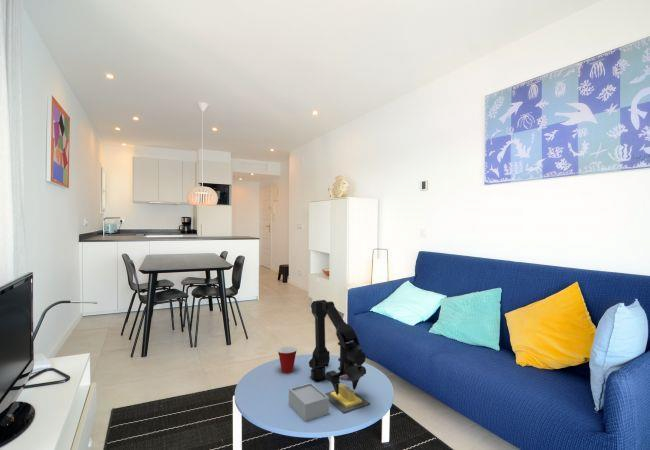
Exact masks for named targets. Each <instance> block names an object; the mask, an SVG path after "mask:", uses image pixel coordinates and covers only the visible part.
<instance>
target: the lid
mask: <svg viewBox="0 0 650 450" xmlns="http://www.w3.org/2000/svg"><path fill="white" fill-rule="evenodd" d="M352 390H353V389H351V388H350V387H348V386H347V385H345V384H344V383H341V384H340V383H339V393H338V395H337V394H336V392H332V391H330V392H331V393H330V395H331V396H332V397H334V398H335V399H336V400H337V401H339V402H340V403H341V404H342V405H343V406H345V407H346V408H347V407H350V406H353V405H356V404H359V403H362V400H361V399H360V398H358V397H357V396H356V395H355V393H356V392H355V390H353V391H352Z"/></svg>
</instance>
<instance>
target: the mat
mask: <svg viewBox="0 0 650 450" xmlns="http://www.w3.org/2000/svg"><path fill="white" fill-rule="evenodd" d="M351 390H352V391H354V389H351ZM331 392H335V390H332V391H329V392H326V393H324V394H325V395H327V396H328V397H329V403H331V405H333V406H335V408H337V409H338V410H339V411H340V412H341V413H342V414H347V413H350V412H352V411H354V410H358V409H361V408H365V407H366V406H369V405H371V402H369V401H368V400H367V399H366V398H363V396H361V395H360V394H358V393H357V392H355V395H356V396H357V397H358V398H360V399H361V400H362V403H359V404H356V405H353V406H350V407H347V408H346V407H345V406H343V405H342V404H341V403H340V402H339V401H337V400H336V399H335V398H334V397H332V396H331V395H330V393H331Z"/></svg>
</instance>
